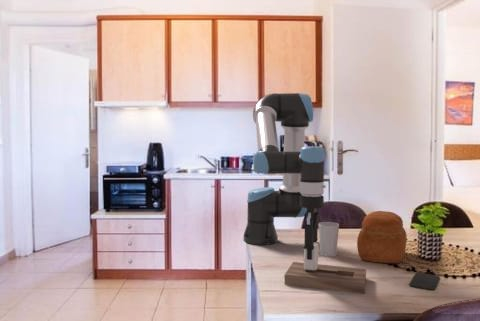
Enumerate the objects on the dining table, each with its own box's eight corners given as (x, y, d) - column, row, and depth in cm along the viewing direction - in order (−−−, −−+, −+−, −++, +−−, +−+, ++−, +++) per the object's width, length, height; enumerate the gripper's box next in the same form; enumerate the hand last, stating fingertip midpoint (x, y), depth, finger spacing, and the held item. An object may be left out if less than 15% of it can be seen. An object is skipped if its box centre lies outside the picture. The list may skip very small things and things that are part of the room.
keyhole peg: (305, 276, 140) (306, 241, 140) (317, 278, 139) (318, 242, 138) (303, 280, 137) (304, 244, 136) (316, 282, 135) (316, 245, 135)
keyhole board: (293, 270, 147) (293, 261, 146) (365, 278, 139) (366, 268, 139) (284, 284, 133) (284, 274, 133) (364, 293, 126) (364, 282, 126)
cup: (338, 257, 163) (339, 226, 162) (317, 256, 164) (318, 225, 164) (338, 252, 171) (338, 222, 170) (318, 250, 172) (318, 221, 171)
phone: (440, 275, 141) (434, 289, 128) (440, 278, 141) (434, 292, 128) (416, 272, 145) (408, 284, 132) (416, 274, 145) (408, 287, 132)
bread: (406, 251, 172) (407, 210, 171) (405, 266, 152) (406, 220, 151) (361, 247, 178) (362, 207, 177) (354, 261, 159) (355, 216, 158)
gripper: (320, 199, 127) (318, 276, 128) (326, 191, 143) (325, 260, 145) (295, 198, 129) (294, 273, 131) (304, 191, 145) (303, 258, 147)
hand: (310, 266), depth 138 cm, fingers open, 4 cm apart
